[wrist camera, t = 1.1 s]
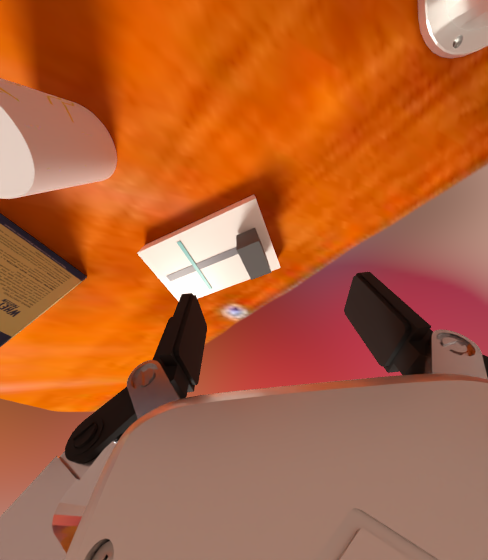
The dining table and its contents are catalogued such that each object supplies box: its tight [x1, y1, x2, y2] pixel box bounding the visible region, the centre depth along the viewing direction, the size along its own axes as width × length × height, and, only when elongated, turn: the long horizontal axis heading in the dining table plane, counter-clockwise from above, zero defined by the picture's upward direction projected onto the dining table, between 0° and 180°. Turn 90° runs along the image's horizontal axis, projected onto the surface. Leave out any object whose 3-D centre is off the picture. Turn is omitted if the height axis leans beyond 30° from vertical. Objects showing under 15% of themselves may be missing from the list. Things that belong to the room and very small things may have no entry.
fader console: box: [137, 194, 281, 301], centre depth 31 cm, size 20×12×3 cm, turn 113°
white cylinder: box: [0, 78, 117, 199], centre depth 18 cm, size 8×8×12 cm
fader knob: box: [236, 228, 271, 280], centre depth 26 cm, size 3×5×5 cm, turn 23°
